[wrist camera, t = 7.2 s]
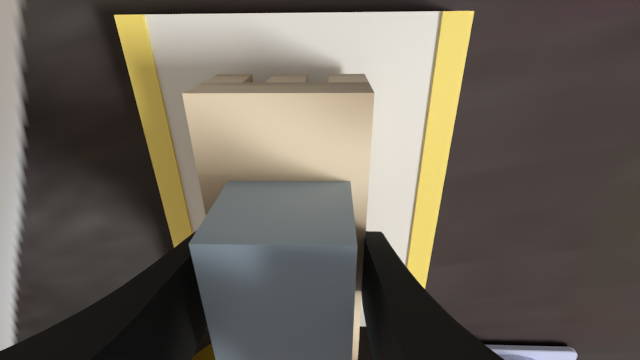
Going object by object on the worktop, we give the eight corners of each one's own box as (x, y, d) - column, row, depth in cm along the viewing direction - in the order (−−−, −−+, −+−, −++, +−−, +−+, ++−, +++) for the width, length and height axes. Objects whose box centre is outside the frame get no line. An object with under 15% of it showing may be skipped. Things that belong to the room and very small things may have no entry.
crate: (345, 325, 12) (349, 412, 10) (249, 323, 12) (226, 408, 10) (350, 181, 10) (357, 245, 7) (227, 180, 10) (188, 243, 7)
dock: (409, 298, 19) (417, 329, 18) (206, 294, 20) (193, 324, 18) (453, 10, 13) (474, 11, 11) (144, 14, 13) (114, 14, 11)
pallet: (353, 309, 16) (357, 368, 13) (250, 307, 16) (234, 365, 14) (364, 73, 11) (374, 92, 9) (217, 74, 11) (181, 93, 9)
